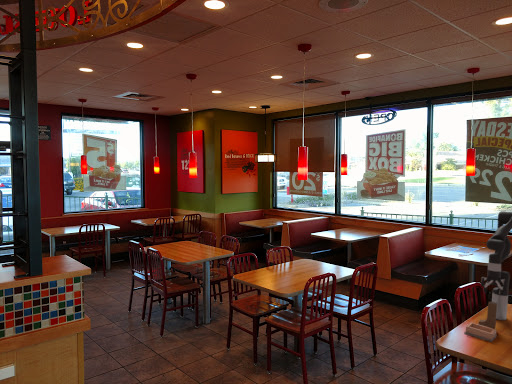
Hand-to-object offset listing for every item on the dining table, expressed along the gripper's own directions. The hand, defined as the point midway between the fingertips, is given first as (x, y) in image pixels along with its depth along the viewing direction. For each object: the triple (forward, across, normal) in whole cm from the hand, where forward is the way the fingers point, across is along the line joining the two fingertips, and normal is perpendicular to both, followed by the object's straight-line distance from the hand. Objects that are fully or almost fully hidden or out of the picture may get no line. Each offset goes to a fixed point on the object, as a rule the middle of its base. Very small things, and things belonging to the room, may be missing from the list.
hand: (492, 293), depth 254 cm
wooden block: (+22, +4, +8) cm, 23 cm away
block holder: (+22, +9, +20) cm, 31 cm away
